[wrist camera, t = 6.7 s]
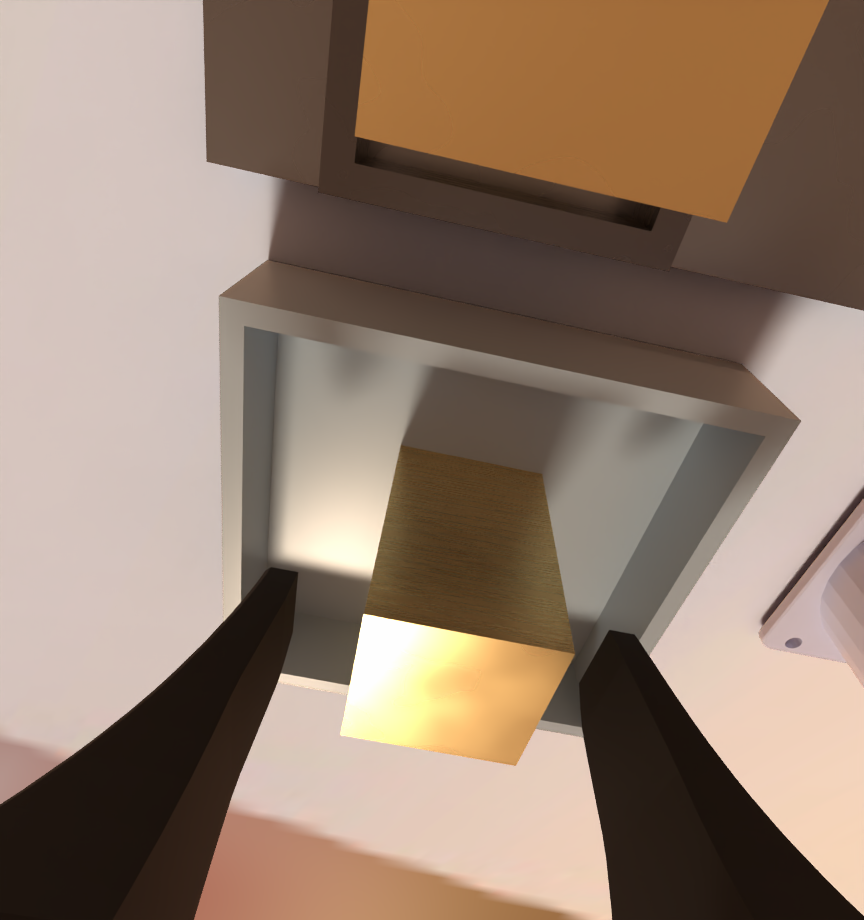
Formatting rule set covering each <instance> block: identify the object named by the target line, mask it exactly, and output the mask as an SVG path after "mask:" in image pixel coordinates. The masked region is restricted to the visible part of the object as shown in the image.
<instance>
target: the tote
mask: <svg viewBox="0 0 864 920" xmlns="http://www.w3.org/2000/svg"><path fill="white" fill-rule="evenodd" d="M219 348H220V420H221V493H222V565H223V622H224V621H225V620H226V618H227V617H228V616H229V615H230V614H231V613H232V612H233V611H234V609H235V608H236V607H237V606H238V605H239V604H240V602H241V601H242V600H243V599H244V598H245V597H246V595H247V594H248V593H249V592H250V590H251V589H252V588H253V587H254V585H255V584H256V583H257V581H258V580H259V579H260V577H261V576H262V575H263V573H264V572H265V570H267V569H268V568H270V567H274V568H279V569H285V570H290V571H296V572H298V582H297V593H296V604H295V615H294V626H293V634H292V637H291V641H290V644H289V647H288V651H287V654H286V658H285V661H284V665H283V668H282V671H281V675H280V677H279V680H278V683H283V684H289V685H294V686H300V687H305V688H311V689H317V690H322V691H328V692H333V693H339V694H344V695H348V694H349V688H350V683H351V678H352V673H353V667H354V662H355V657H356V652H357V647H358V641H359V636H360V631H361V626H362V621H363V615H364V611H365V606H366V601H367V597H368V592H369V588H370V583H371V579H372V574H373V569H374V565H375V560H376V556H377V551H378V547H379V542H380V538H381V533H382V528H383V524H384V519H385V515H386V510H387V506H388V501H389V496H390V492H391V487H392V483H393V478H394V474H395V469H396V464H397V460H398V455H399V451H400V446H401V445H403V446H408V447H413V448H418V449H423V450H427V451H432V452H437V453H442V454H447V455H452V456H457V457H462V458H467V459H472V460H476V461H481V462H486V463H491V464H496V465H501V466H506V467H511V468H516V469H521V470H525V471H530V472H535V473H540V474H542V476H543V481H544V487H545V492H546V498H547V503H548V509H549V514H550V519H551V525H552V530H553V536H554V541H555V547H556V552H557V558H558V563H559V568H560V574H561V579H562V585H563V590H564V596H565V601H566V607H567V612H568V618H569V623H570V628H571V634H572V639H573V645H574V650H575V655H574V657H573V659H572V661H571V663H570V665H569V667H568V668H567V670H566V672H565V674H564V676H563V678H562V680H561V682H560V683H559V685H558V687H557V689H556V691H555V693H554V695H553V697H552V699H551V700H550V702H549V704H548V706H547V708H546V710H545V712H544V714H543V715H542V717H541V719H540V721H539V723H538V725H537V727H536V729H539V730H545V731H551V732H556V733H562V734H567V735H573V736H578V737H583V731H582V722H581V710H580V694H579V682H580V681H581V679H582V677H583V675H584V673H585V672H586V670H587V668H588V666H589V665H590V663H591V661H592V659H593V658H594V656H595V654H596V652H597V650H598V649H599V647H600V645H601V643H602V642H603V640H604V638H605V636H606V634H607V633H608V631H609V630H614V631H619V632H625V633H630V634H635V636H636V637H637V639H638V640H639V641H640V643H641V644H642V646H643V647H644V649H645V650H646V652H647V653H648V655H650V653H651V652H652V650H653V649H654V647H655V646H656V644H657V643H658V641H659V640H660V638H661V636H662V635H663V633H664V632H665V630H666V629H667V627H668V626H669V624H670V623H671V621H672V620H673V618H674V616H675V615H676V613H677V612H678V610H679V609H680V607H681V606H682V604H683V603H684V601H685V599H686V598H687V596H688V595H689V593H690V592H691V590H692V589H693V587H694V586H695V584H696V582H697V581H698V579H699V578H700V576H701V575H702V573H703V572H704V570H705V569H706V567H707V566H708V564H709V562H710V561H711V559H712V558H713V556H714V555H715V553H716V552H717V550H718V549H719V547H720V545H721V544H722V542H723V541H724V539H725V538H726V536H727V535H728V533H729V532H730V530H731V528H732V527H733V525H734V524H735V522H736V521H737V519H738V518H739V516H740V515H741V513H742V512H743V510H744V508H745V507H746V505H747V504H748V502H749V501H750V499H751V498H752V496H753V495H754V493H755V491H756V490H757V488H758V487H759V485H760V484H761V482H762V481H763V479H764V478H765V476H766V475H767V473H768V471H769V470H770V468H771V467H772V465H773V464H774V462H775V461H776V459H777V458H778V456H779V454H780V453H781V451H782V450H783V448H784V447H785V445H786V444H787V442H788V441H789V439H790V437H791V436H792V434H793V433H794V431H795V430H796V428H797V427H798V425H799V424H800V422H801V420H800V419H799V418H798V417H797V416H796V415H795V414H794V413H792V412H791V411H790V410H789V409H788V408H787V407H786V406H785V405H784V404H783V403H782V402H781V401H780V400H779V399H778V398H777V397H776V396H775V395H774V394H773V393H772V392H771V391H770V390H769V389H768V388H766V387H765V386H764V385H763V384H762V383H761V382H760V381H759V380H758V379H757V378H756V377H755V376H754V375H753V374H752V373H751V372H750V371H749V370H748V369H747V368H746V367H745V366H744V365H743V364H740V363H736V362H731V361H727V360H722V359H718V358H713V357H708V356H704V355H699V354H695V353H690V352H686V351H681V350H676V349H672V348H667V347H663V346H658V345H654V344H649V343H644V342H640V341H635V340H631V339H626V338H622V337H617V336H612V335H608V334H603V333H599V332H594V331H590V330H585V329H580V328H576V327H571V326H567V325H562V324H558V323H553V322H549V321H544V320H539V319H535V318H530V317H526V316H521V315H517V314H512V313H507V312H503V311H498V310H494V309H489V308H485V307H480V306H475V305H471V304H466V303H462V302H457V301H453V300H448V299H443V298H439V297H434V296H430V295H425V294H421V293H416V292H411V291H407V290H402V289H398V288H393V287H389V286H384V285H379V284H375V283H370V282H366V281H361V280H357V279H352V278H347V277H343V276H338V275H334V274H329V273H325V272H320V271H316V270H311V269H306V268H302V267H297V266H293V265H288V264H284V263H279V262H274V261H270V260H267V261H265V262H264V263H263V264H261V265H260V266H259V267H257V268H256V269H255V270H253V271H252V272H251V273H249V274H248V275H246V276H245V277H244V278H242V279H241V280H240V281H238V282H237V283H236V284H234V285H233V286H232V287H230V288H229V289H228V290H226V291H225V292H223V293H222V294H221V295H219Z"/></svg>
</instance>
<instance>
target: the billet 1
mask: <svg viewBox="0 0 864 920" xmlns="http://www.w3.org/2000/svg"><path fill="white" fill-rule="evenodd" d="M574 655H575V650H574V645H573V639H572V634H571V628H570V623H569V618H568V612H567V607H566V601H565V596H564V590H563V585H562V579H561V574H560V568H559V563H558V558H557V552H556V547H555V541H554V536H553V530H552V525H551V519H550V514H549V509H548V503H547V498H546V492H545V487H544V481H543V476H542V474H540V473H535V472H530V471H525V470H521V469H516V468H511V467H506V466H501V465H496V464H491V463H486V462H481V461H476V460H472V459H467V458H462V457H457V456H452V455H447V454H442V453H437V452H432V451H427V450H423V449H418V448H413V447H408V446H403V445H401V446H400V451H399V455H398V460H397V464H396V469H395V474H394V478H393V483H392V487H391V492H390V496H389V501H388V506H387V510H386V515H385V519H384V524H383V528H382V533H381V538H380V542H379V547H378V551H377V556H376V560H375V565H374V569H373V574H372V579H371V583H370V588H369V592H368V597H367V601H366V606H365V611H364V615H363V621H362V626H361V631H360V636H359V641H358V647H357V652H356V657H355V662H354V667H353V673H352V678H351V683H350V688H349V694H348V699H347V704H346V709H345V714H344V720H343V725H342V730H341V735H344V736H349V737H355V738H361V739H366V740H372V741H378V742H383V743H389V744H395V745H401V746H406V747H412V748H418V749H423V750H429V751H435V752H440V753H446V754H452V755H458V756H463V757H469V758H475V759H480V760H486V761H492V762H497V763H503V764H509V765H514V766H516V764H517V762H518V761H519V759H520V757H521V755H522V753H523V751H524V749H525V747H526V746H527V744H528V742H529V740H530V738H531V736H532V734H533V732H534V730H535V729H536V727H537V725H538V723H539V721H540V719H541V717H542V715H543V714H544V712H545V710H546V708H547V706H548V704H549V702H550V700H551V699H552V697H553V695H554V693H555V691H556V689H557V687H558V685H559V683H560V682H561V680H562V678H563V676H564V674H565V672H566V670H567V668H568V667H569V665H570V663H571V661H572V659H573V657H574Z"/></svg>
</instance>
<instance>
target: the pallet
mask: <svg viewBox="0 0 864 920" xmlns="http://www.w3.org/2000/svg"><path fill="white" fill-rule="evenodd" d="M368 5H369V0H203V19H204V63H205V107H206V151H207V162H211V163H215V164H220V165H224V166H229V167H233V168H237V169H242V170H246V171H251V172H255V173H260V174H264V175H268V176H273V177H277V178H282V179H286V180H290V181H295V182H299V183H304V184H308V185H312V186H317V187H318V192H320V193H324V194H328V195H333V196H337V197H342V198H346V199H350V200H355V201H359V202H364V203H368V204H373V205H377V206H381V207H386V208H390V209H395V210H399V211H403V212H408V213H412V214H417V215H421V216H426V217H430V218H434V219H439V220H443V221H448V222H452V223H456V224H461V225H465V226H470V227H474V228H479V229H483V230H487V231H492V232H496V233H501V234H505V235H510V236H514V237H518V238H523V239H527V240H532V241H536V242H540V243H545V244H549V245H554V246H558V247H563V248H567V249H571V250H576V251H580V252H585V253H589V254H593V255H598V256H602V257H607V258H611V259H616V260H620V261H624V262H629V263H633V264H638V265H642V266H646V267H651V268H655V269H660V270H664V271H669V270H670V268H671V267H674V268H678V269H683V270H687V271H692V272H696V273H700V274H705V275H709V276H714V277H718V278H722V279H727V280H731V281H736V282H740V283H744V284H749V285H753V286H758V287H762V288H766V289H771V290H775V291H780V292H784V293H789V294H793V295H797V296H802V297H806V298H811V299H815V300H819V301H824V302H828V303H833V304H837V305H841V306H846V307H850V308H855V309H859V310H863V311H864V0H829V2H828V4H827V6H826V8H825V10H824V13H823V15H822V17H821V19H820V21H819V23H818V26H817V28H816V30H815V32H814V34H813V36H812V39H811V41H810V43H809V45H808V47H807V50H806V52H805V54H804V56H803V58H802V60H801V63H800V65H799V67H798V69H797V71H796V73H795V76H794V78H793V80H792V82H791V84H790V87H789V89H788V91H787V93H786V95H785V97H784V100H783V102H782V104H781V106H780V108H779V110H778V113H777V115H776V117H775V119H774V121H773V124H772V126H771V128H770V130H769V132H768V134H767V137H766V139H765V141H764V143H763V145H762V147H761V150H760V152H759V154H758V156H757V158H756V160H755V163H754V165H753V167H752V169H751V171H750V174H749V176H748V178H747V180H746V182H745V184H744V187H743V189H742V191H741V193H740V195H739V197H738V200H737V202H736V204H735V206H734V208H733V211H732V213H731V215H730V217H729V219H728V221H727V223H726V222H721V221H717V220H713V219H708V218H704V217H700V216H695V215H691V214H687V213H683V212H678V211H674V210H670V209H665V208H661V207H657V206H652V205H648V204H644V203H640V202H635V201H631V200H627V199H622V198H618V197H614V196H609V195H605V194H601V193H597V192H592V191H588V190H584V189H579V188H575V187H571V186H566V185H562V184H558V183H553V182H549V181H545V180H541V179H536V178H532V177H528V176H523V175H519V174H515V173H510V172H506V171H502V170H498V169H493V168H489V167H485V166H480V165H476V164H472V163H467V162H463V161H459V160H455V159H450V158H446V157H442V156H437V155H433V154H429V153H424V152H420V151H416V150H411V149H407V148H403V147H399V146H394V145H390V144H386V143H381V142H377V141H373V140H368V139H364V138H360V137H356V136H355V128H356V119H357V109H358V100H359V90H360V81H361V71H362V62H363V52H364V43H365V33H366V24H367V14H368Z"/></svg>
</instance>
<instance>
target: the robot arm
mask: <svg viewBox="0 0 864 920" xmlns="http://www.w3.org/2000/svg"><path fill="white" fill-rule="evenodd" d="M297 582H298V572H296V571H290V570H285V569H279V568H274V567H270V568H268V569H267V570H265V572H264V573H263V575H262V576H261V577H260V579H259V580H258V581H257V583H256V584H255V585H254V587H253V588H252V589H251V590H250V592H249V593H248V594H247V595H246V597H245V598H244V599H243V600H242V601H241V602H240V604H239V605H238V606H237V607H236V608H235V609H234V611H233V612H232V613H231V614H230V615H229V616H228V617H227V618H226V620H225V621H224V622H223V623H222V624H221V625H220V626H219V627H218V628H217V629H216V630H215V631H214V633H213V634H212V635H211V636H210V637H209V638H208V639H207V640H206V641H205V642H204V643H203V644H202V645H201V646H200V647H199V648H198V649H197V650H196V651H195V652H194V653H193V654H192V655H191V656H190V657H189V658H188V659H187V660H186V661H185V662H184V663H183V664H182V665H181V666H180V667H179V668H178V669H177V670H176V671H175V672H174V673H172V674H171V675H170V676H169V677H168V678H167V679H166V680H165V681H164V682H163V683H162V684H160V685H159V686H158V687H157V688H156V689H155V690H154V691H153V692H151V693H150V694H149V695H148V696H147V697H146V698H144V699H143V700H142V701H141V702H140V703H139V704H137V705H136V706H135V707H134V708H133V709H131V710H130V711H129V712H128V713H127V714H125V715H124V716H123V717H122V718H120V719H119V720H118V721H117V722H115V723H114V724H113V725H111V726H110V727H109V728H108V729H106V730H105V731H104V732H103V733H101V734H100V735H99V736H98V737H96V738H95V739H94V740H92V741H91V742H90V743H88V744H87V745H86V746H84V747H83V748H82V749H80V750H79V751H78V752H76V753H75V754H73V755H72V756H71V757H69V758H68V759H66V760H65V761H63V762H62V763H61V764H59V765H58V766H56V767H55V768H53V769H52V770H50V771H49V772H48V773H46V774H45V775H44V776H42V777H41V778H39V779H38V780H36V781H35V782H33V783H32V784H30V785H29V786H28V787H26V788H25V789H23V790H22V791H20V792H19V793H17V794H16V795H14V796H13V797H11V798H10V799H8V800H6V801H5V802H3V803H2V804H0V920H194V917H195V914H196V911H197V907H198V904H199V900H200V897H201V894H202V891H203V887H204V884H205V881H206V877H207V874H208V871H209V868H210V864H211V861H212V858H213V855H214V851H215V848H216V845H217V842H218V838H219V835H220V832H221V829H222V826H223V823H224V820H225V816H226V813H227V810H228V807H229V804H230V800H231V797H232V795H233V792H234V789H235V786H236V784H237V781H238V778H239V776H240V773H241V771H242V768H243V766H244V763H245V761H246V758H247V756H248V753H249V751H250V749H251V746H252V744H253V741H254V739H255V736H256V734H257V732H258V729H259V727H260V724H261V722H262V719H263V717H264V714H265V712H266V710H267V707H268V705H269V702H270V700H271V697H272V695H273V692H274V690H275V687H276V685H277V682H278V680H279V677H280V675H281V671H282V668H283V665H284V661H285V658H286V654H287V651H288V647H289V644H290V641H291V637H292V634H293V626H294V615H295V604H296V593H297ZM759 638H760V639H761V641H762V643H763V645H764V646H765V647H767V648H770V649H775V650H780V651H785V652H790V653H795V654H801V655H806V656H811V657H816V658H822V659H827V660H832V661H837V662H842V663H847V664H848V665H849V667H850V668H851V670H852V671H853V673H854V674H855V676H856V677H857V679H858V680H859V682H860V683H861V685H862V686H863V688H864V499H863V500H862V501H861V502H860V504H859V505H858V506H857V507H856V509H855V510H854V511H853V512H852V514H851V515H850V516H849V518H848V519H847V520H846V521H845V523H844V524H843V525H842V526H841V528H840V529H839V530H838V531H837V533H836V534H835V535H834V537H833V538H832V539H831V540H830V542H829V543H828V544H827V545H826V547H825V548H824V549H823V550H822V552H821V553H820V554H819V556H818V557H817V558H816V559H815V561H814V562H813V563H812V564H811V566H810V567H809V568H808V569H807V571H806V572H805V573H804V575H803V576H802V577H801V578H800V580H799V581H798V582H797V583H796V585H795V586H794V587H793V588H792V590H791V591H790V592H789V594H788V595H787V596H786V597H785V599H784V600H783V601H782V602H781V604H780V605H779V606H778V608H777V609H776V610H775V611H774V613H773V614H772V615H771V616H770V618H769V619H768V620H767V621H766V623H765V624H764V625H763V627H762V628H761V629H760V631H759ZM579 694H580V710H581V722H582V731H583V737H584V742H585V747H586V753H587V758H588V763H589V768H590V774H591V779H592V784H593V789H594V794H595V799H596V804H597V809H598V814H599V819H600V824H601V829H602V834H603V841H604V847H605V853H606V861H607V870H608V880H609V889H610V899H611V909H612V920H864V916H863V915H862V914H861V913H860V912H859V911H858V910H857V909H856V908H855V907H854V906H853V905H851V904H850V903H849V902H848V901H847V900H846V899H845V898H844V897H843V896H842V895H841V894H840V893H839V892H838V891H837V890H836V889H835V888H834V887H833V886H832V885H831V884H830V883H829V882H828V881H827V880H826V879H825V878H824V877H823V876H822V875H821V874H820V873H819V871H818V870H817V869H816V868H815V867H814V866H813V865H812V864H811V863H810V862H809V861H808V860H807V859H806V858H805V857H804V856H803V855H802V854H801V853H800V852H799V850H798V849H797V848H796V847H795V846H794V845H793V844H792V843H791V842H790V841H789V840H788V839H787V838H786V836H785V835H784V834H783V833H782V832H781V831H780V830H779V829H778V828H777V827H776V825H775V824H774V823H773V822H772V821H771V820H770V818H769V817H768V816H767V815H766V814H765V813H764V811H763V810H762V809H761V808H760V807H759V806H758V804H757V803H756V802H755V801H754V800H753V799H752V797H751V796H750V795H749V794H748V793H747V791H746V790H745V789H744V788H743V787H742V785H741V784H740V783H739V782H738V780H737V779H736V778H735V777H734V775H733V774H732V773H731V771H730V770H729V769H728V768H727V766H726V765H725V764H724V762H723V761H722V760H721V758H720V757H719V756H718V755H717V753H716V752H715V751H714V749H713V748H712V747H711V745H710V744H709V743H708V741H707V740H706V738H705V737H704V736H703V734H702V733H701V732H700V730H699V729H698V727H697V726H696V725H695V723H694V722H693V720H692V719H691V718H690V716H689V715H688V713H687V712H686V710H685V709H684V707H683V706H682V705H681V703H680V702H679V700H678V699H677V697H676V696H675V694H674V693H673V691H672V690H671V688H670V687H669V685H668V684H667V682H666V681H665V679H664V678H663V676H662V675H661V673H660V672H659V670H658V669H657V667H656V666H655V664H654V663H653V661H652V660H651V658H650V657H649V655H648V653H647V652H646V650H645V649H644V647H643V646H642V644H641V643H640V641H639V640H638V639H637V637H636V636H635V634H630V633H625V632H619V631H614V630H609V631H608V633H607V634H606V636H605V638H604V640H603V642H602V643H601V645H600V647H599V649H598V650H597V652H596V654H595V656H594V658H593V659H592V661H591V663H590V665H589V666H588V668H587V670H586V672H585V673H584V675H583V677H582V679H581V681H580V682H579Z"/></svg>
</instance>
